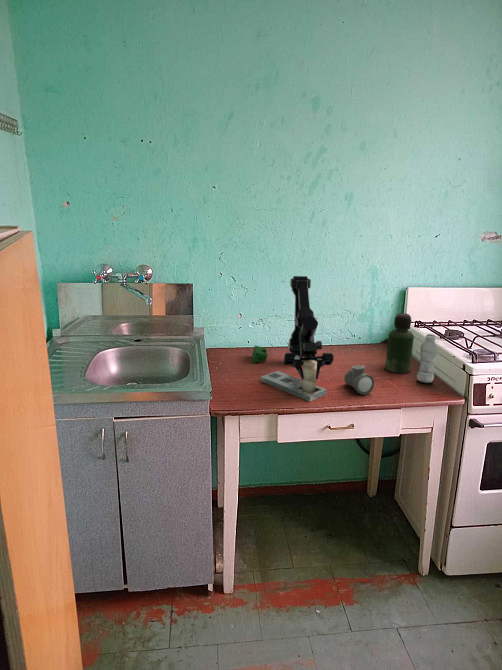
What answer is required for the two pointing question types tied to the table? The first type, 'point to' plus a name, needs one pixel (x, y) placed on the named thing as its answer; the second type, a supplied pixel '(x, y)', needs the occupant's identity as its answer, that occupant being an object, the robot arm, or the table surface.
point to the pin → (309, 376)
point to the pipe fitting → (359, 379)
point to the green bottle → (400, 345)
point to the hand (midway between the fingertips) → (309, 379)
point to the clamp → (259, 354)
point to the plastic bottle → (427, 359)
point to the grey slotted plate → (292, 385)
